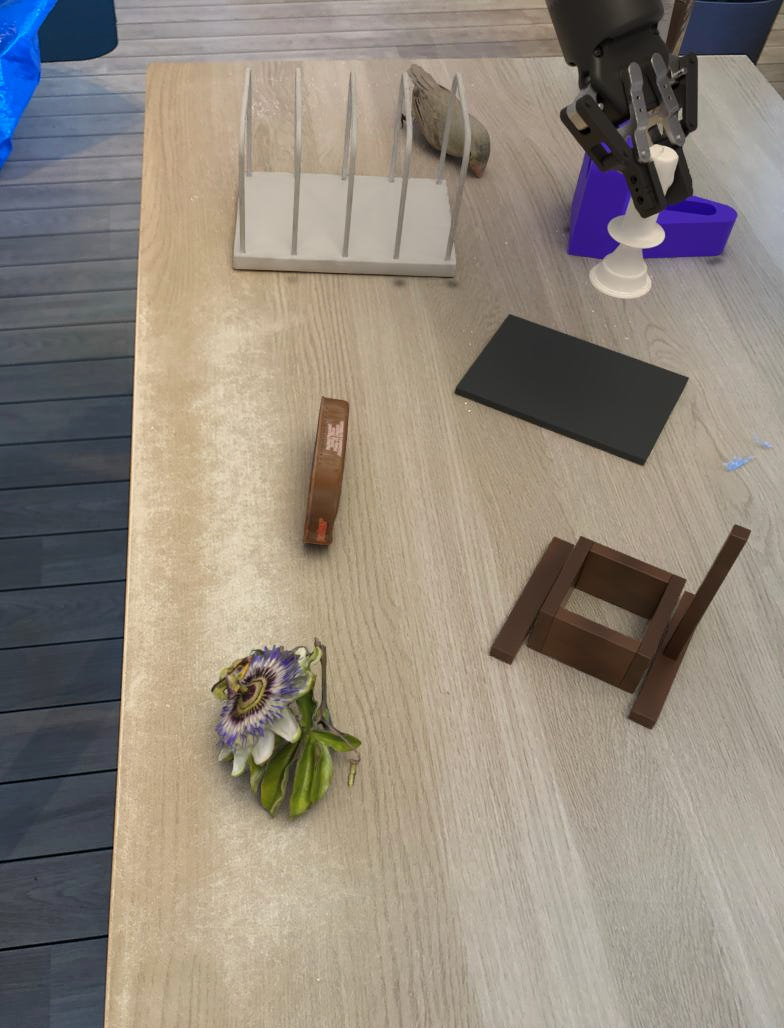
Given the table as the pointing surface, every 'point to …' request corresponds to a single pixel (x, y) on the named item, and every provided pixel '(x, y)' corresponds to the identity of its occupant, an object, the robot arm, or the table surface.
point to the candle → (634, 240)
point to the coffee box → (674, 26)
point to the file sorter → (348, 205)
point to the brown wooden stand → (625, 588)
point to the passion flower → (280, 726)
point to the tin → (326, 471)
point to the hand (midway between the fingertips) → (668, 206)
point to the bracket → (685, 223)
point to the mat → (574, 388)
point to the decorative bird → (432, 117)
